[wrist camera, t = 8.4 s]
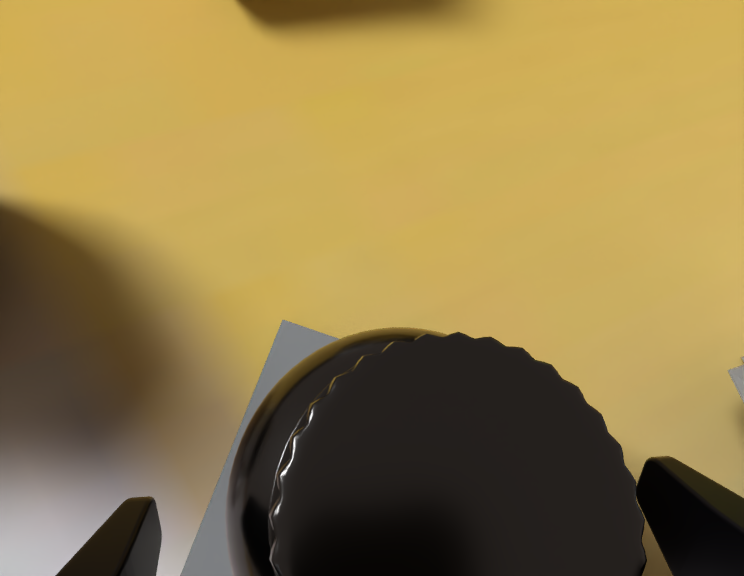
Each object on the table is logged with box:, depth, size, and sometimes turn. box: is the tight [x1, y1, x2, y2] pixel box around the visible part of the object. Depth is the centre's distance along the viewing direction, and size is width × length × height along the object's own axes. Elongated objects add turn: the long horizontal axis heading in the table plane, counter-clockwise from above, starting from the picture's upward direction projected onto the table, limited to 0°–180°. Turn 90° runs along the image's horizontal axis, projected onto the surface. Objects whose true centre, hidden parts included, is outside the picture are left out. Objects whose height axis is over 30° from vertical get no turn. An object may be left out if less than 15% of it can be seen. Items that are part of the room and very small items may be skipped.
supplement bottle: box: [225, 328, 647, 576], centre depth 12 cm, size 7×7×12 cm
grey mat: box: [180, 320, 339, 576], centre depth 18 cm, size 9×9×1 cm
